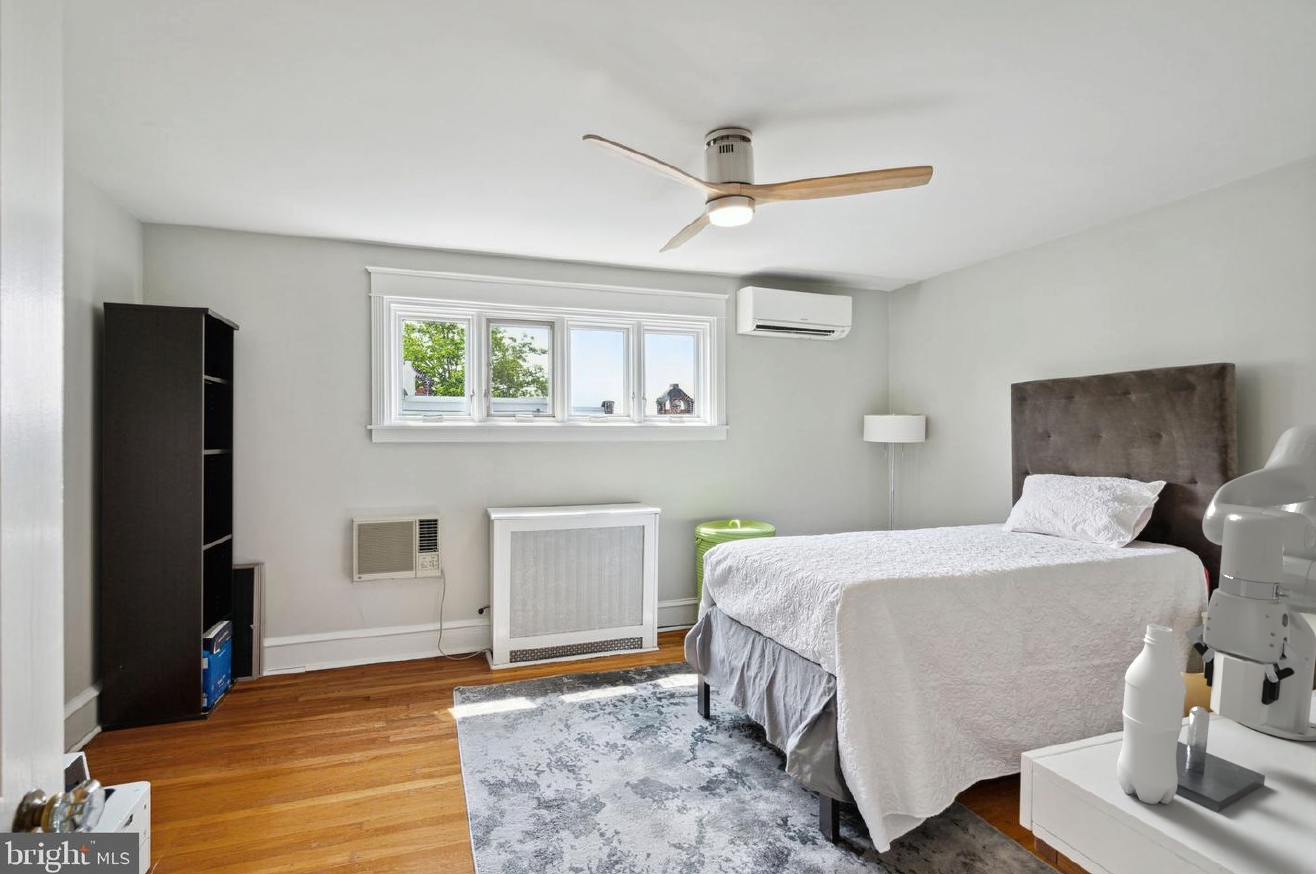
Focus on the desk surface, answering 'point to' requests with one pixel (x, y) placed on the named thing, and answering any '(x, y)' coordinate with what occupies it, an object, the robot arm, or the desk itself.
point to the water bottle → (1152, 720)
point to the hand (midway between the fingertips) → (1239, 692)
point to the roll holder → (1210, 769)
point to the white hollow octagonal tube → (1238, 689)
